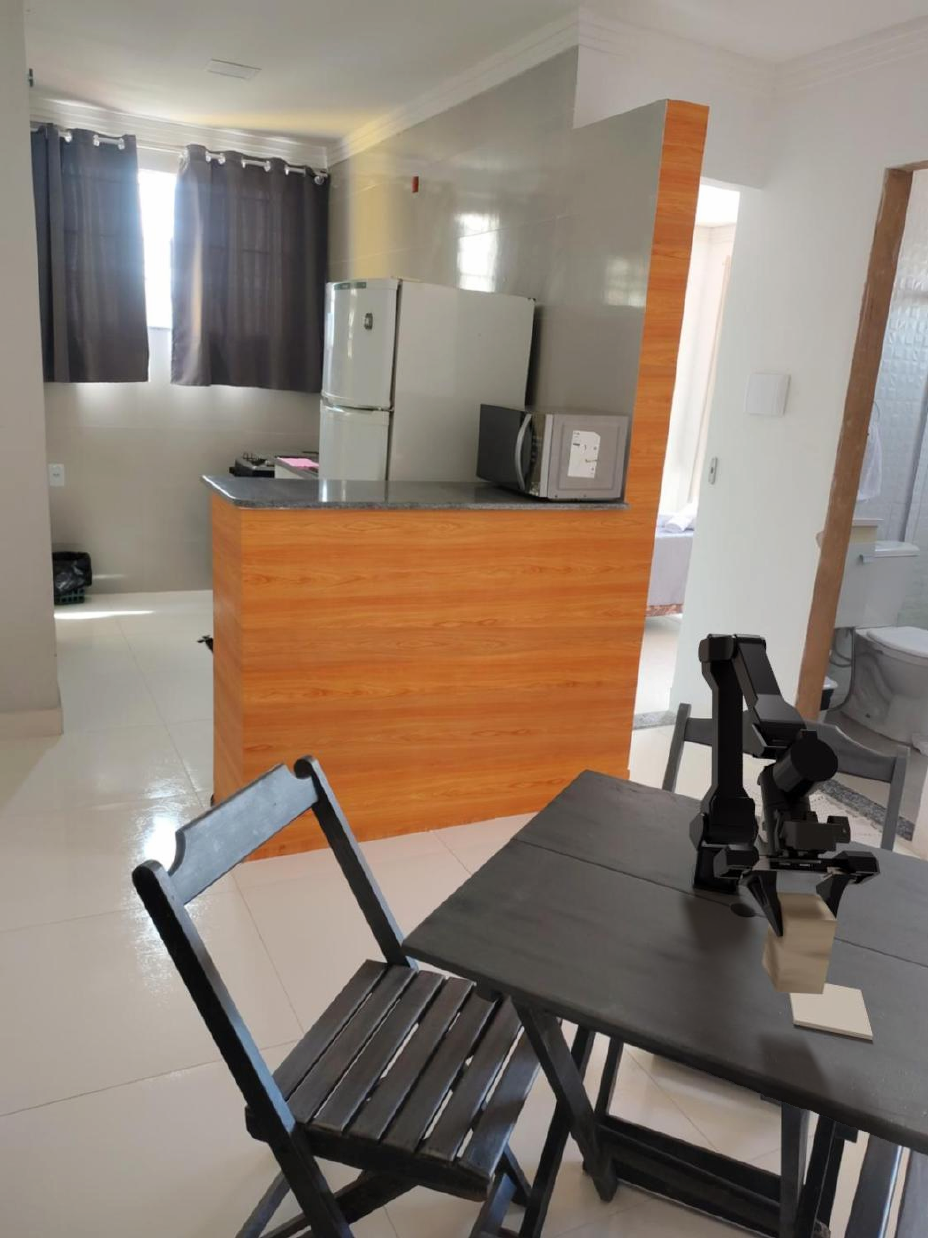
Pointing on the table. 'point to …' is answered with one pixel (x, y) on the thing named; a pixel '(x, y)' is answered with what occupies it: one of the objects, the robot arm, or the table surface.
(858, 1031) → the cream tile
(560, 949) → the table surface
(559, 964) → the table surface
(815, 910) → the brass block
